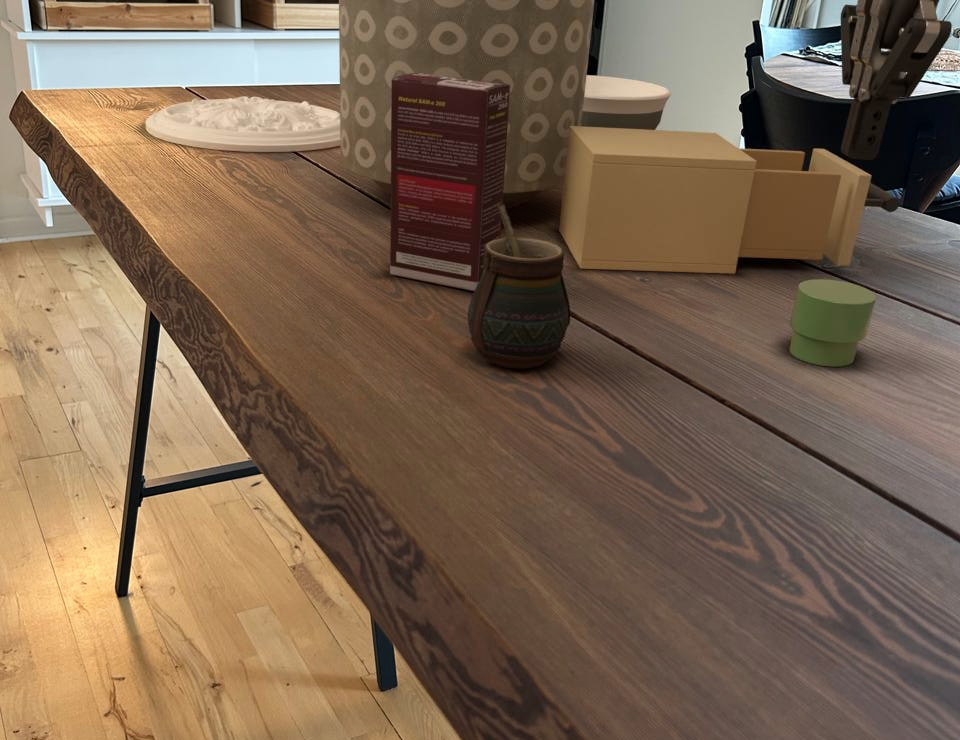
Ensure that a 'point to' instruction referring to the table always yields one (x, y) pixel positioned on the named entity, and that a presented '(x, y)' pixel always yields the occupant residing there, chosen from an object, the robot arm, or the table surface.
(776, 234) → the drawer
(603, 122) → the bowl
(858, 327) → the green stepped cylinder
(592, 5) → the planter
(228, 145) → the ceiling medallion
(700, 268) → the cabinet
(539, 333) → the mate gourd
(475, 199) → the supplement box
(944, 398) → the table surface
